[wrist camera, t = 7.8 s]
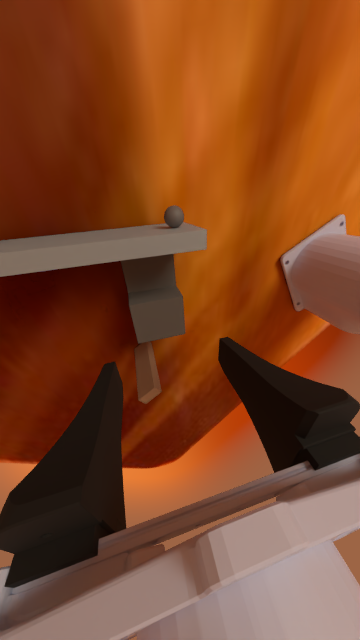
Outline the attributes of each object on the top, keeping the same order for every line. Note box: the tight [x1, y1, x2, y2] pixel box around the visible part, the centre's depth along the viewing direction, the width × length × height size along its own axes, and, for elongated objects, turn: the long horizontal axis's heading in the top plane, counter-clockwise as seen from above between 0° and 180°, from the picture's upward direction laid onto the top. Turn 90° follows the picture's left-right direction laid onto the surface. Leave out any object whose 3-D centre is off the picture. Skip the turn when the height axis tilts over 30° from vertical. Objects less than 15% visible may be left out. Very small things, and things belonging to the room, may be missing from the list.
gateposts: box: [134, 342, 162, 403], centre depth 15 cm, size 23×2×7 cm, turn 39°
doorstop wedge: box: [121, 254, 185, 344], centre depth 18 cm, size 8×4×5 cm, turn 4°
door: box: [0, 206, 207, 277], centre depth 13 cm, size 14×3×6 cm, turn 94°
